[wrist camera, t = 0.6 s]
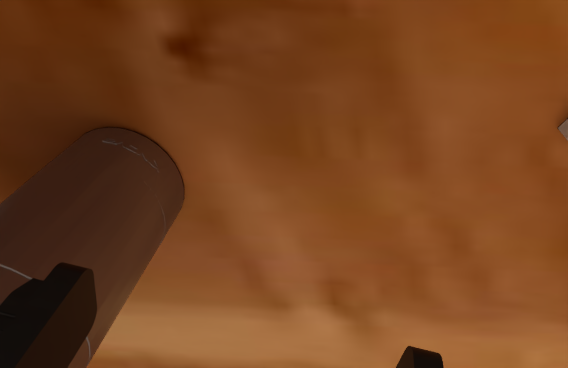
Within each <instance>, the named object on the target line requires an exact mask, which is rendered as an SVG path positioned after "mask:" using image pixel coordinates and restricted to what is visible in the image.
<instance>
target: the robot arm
mask: <svg viewBox="0 0 568 368" xmlns="http://www.w3.org/2000/svg"><path fill="white" fill-rule="evenodd" d="M183 200H184V186H183V182H182V178H181V175H180V173H179V171H178V169H177V167H176V165H175V164H174V163H173V161H172V160H171V159H170V157H169V156H168V155H167V154H166V153H165V152H164V151H163V150H162V149H161V148H160V147H159V146H158V145H156V144H155V143H154V142H152V141H151V140H149V139H148V138H146V137H144V136H142V135H140V134H137V133H135V132H133V131H129V130H125V129H121V128H108V127H107V128H100V129H95V130H93V131H90V132H88V133H86V134H84V135H83V136H82V137H80V138H79V139H78V140H77V141H75V142H74V143H73V144H72V145H71V146H69V147H68V148H67V149H66V150H65V151H63V152H62V153H61V154H60V155H58V156H57V157H56V158H55V159H54V160H52V161H51V162H50V163H48V164H47V165H46V166H45V167H44V168H42V169H41V170H40V171H39V172H38V173H36V174H35V175H34V176H33V177H32V178H30V179H29V180H28V181H27V182H26V183H25V184H23V185H22V186H21V187H20V188H19V189H17V190H16V191H15V192H14V193H13V194H11V195H10V196H9V197H8V198H7V199H5V200H4V201H3V202H2V203H1V204H0V368H86V367H87V365H88V364H89V362H90V360H91V359H92V357H93V355H94V354H95V352H96V350H97V349H98V347H99V345H100V344H101V342H102V340H103V339H104V337H105V335H106V334H107V332H108V330H109V329H110V327H111V325H112V324H113V322H114V320H115V319H116V317H117V315H118V314H119V312H120V310H121V309H122V307H123V305H124V304H125V302H126V300H127V299H128V297H129V295H130V294H131V292H132V290H133V289H134V287H135V285H136V284H137V282H138V280H139V279H140V277H141V275H142V274H143V272H144V270H145V269H146V267H147V265H148V264H149V262H150V260H151V259H152V257H153V255H154V254H155V252H156V250H157V249H158V247H159V245H160V244H161V242H162V241H163V239H164V237H165V236H166V234H167V232H168V230H169V229H170V227H171V225H172V224H173V222H174V220H175V219H176V217H177V215H178V213H179V212H180V210H181V208H182V204H183ZM396 368H443V361H442V357H441V355H440V354H439V353H436V352H432V351H428V350H424V349H419V348H415V347H411V346H408V347H407V348H406V350H405V351H404V353H403V355H402V357H401V359H400V361H399V363H398V364H397V366H396Z"/></svg>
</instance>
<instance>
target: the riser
mask: <svg viewBox="0 0 568 368" xmlns="http://www.w3.org/2000/svg"><path fill="white" fill-rule="evenodd" d="M558 129H559V130H560V131H561V133H562V134H563V135H564V136H565V138H566V139H567V140H568V119H567V120H566V121H565V122H564V123H563V124H561V125H560V126H559V127H558Z"/></svg>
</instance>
